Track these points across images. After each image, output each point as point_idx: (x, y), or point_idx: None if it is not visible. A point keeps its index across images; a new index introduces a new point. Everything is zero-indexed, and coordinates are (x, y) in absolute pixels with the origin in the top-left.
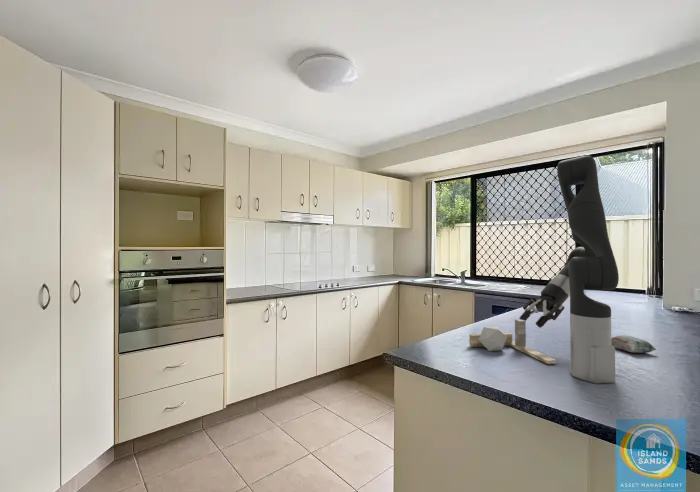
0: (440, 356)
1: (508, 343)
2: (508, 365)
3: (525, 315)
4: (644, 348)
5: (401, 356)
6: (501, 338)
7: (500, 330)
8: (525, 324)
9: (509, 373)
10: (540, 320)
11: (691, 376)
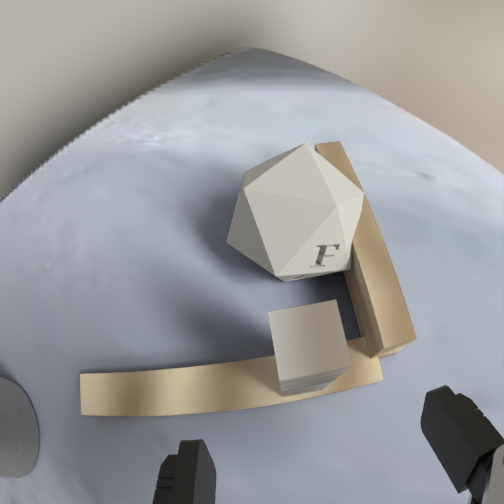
0: (217, 101)
1: (363, 337)
2: (111, 238)
3: (451, 441)
4: None
5: (225, 57)
6: (237, 230)
7: (296, 226)
8: (281, 384)
9: (65, 219)
10: (177, 481)
11: None
